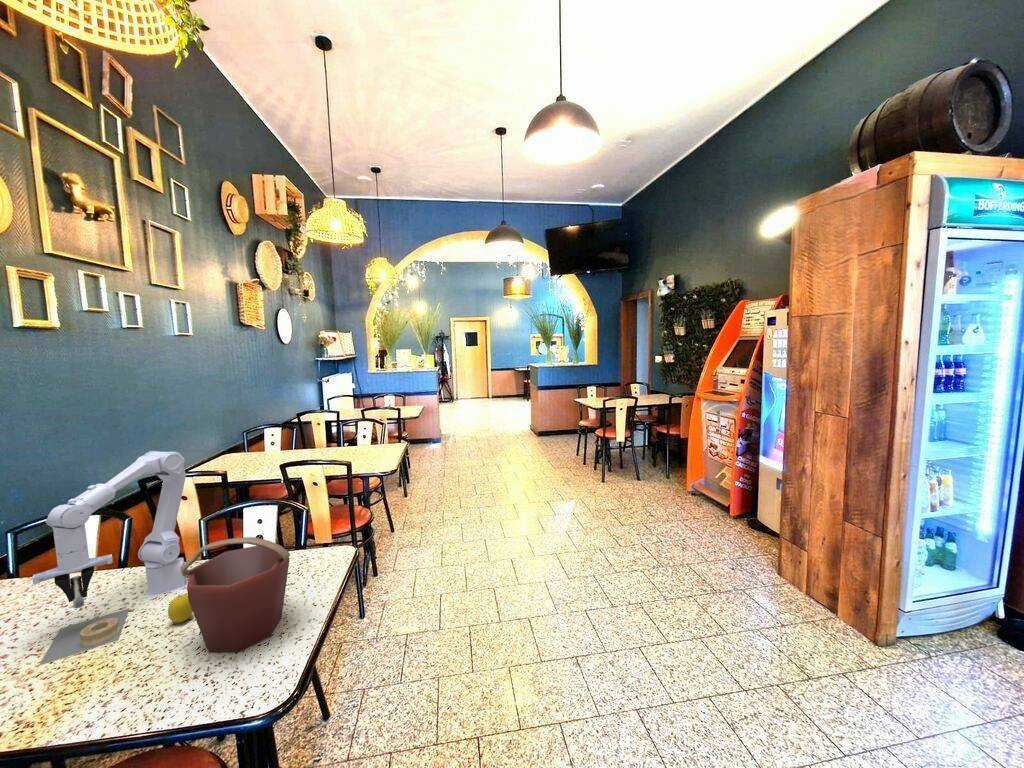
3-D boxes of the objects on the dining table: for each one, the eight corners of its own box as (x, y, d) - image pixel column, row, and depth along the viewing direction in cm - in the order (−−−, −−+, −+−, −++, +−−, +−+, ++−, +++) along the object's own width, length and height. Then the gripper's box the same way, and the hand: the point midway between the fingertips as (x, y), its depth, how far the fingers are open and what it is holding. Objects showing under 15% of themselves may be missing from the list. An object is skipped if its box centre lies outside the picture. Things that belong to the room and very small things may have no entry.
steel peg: (84, 602, 112) (81, 574, 111) (84, 606, 110) (80, 577, 110) (74, 606, 110) (70, 577, 110) (73, 609, 109) (69, 580, 108)
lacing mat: (129, 610, 120) (129, 608, 120) (118, 642, 107) (118, 640, 107) (60, 630, 112) (60, 628, 112) (39, 667, 99) (38, 665, 99)
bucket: (164, 661, 99) (154, 561, 97) (231, 604, 121) (223, 522, 119) (263, 661, 98) (254, 560, 96) (311, 604, 120) (305, 521, 118)
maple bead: (121, 624, 113) (120, 614, 113) (116, 638, 107) (115, 627, 107) (85, 635, 109) (84, 625, 109) (78, 650, 103) (76, 639, 103)
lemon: (199, 619, 115) (196, 591, 115) (176, 631, 110) (173, 603, 110) (187, 614, 118) (185, 587, 117) (165, 626, 112) (162, 598, 112)
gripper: (109, 535, 117) (115, 581, 118) (32, 554, 107) (38, 604, 108) (110, 543, 112) (115, 590, 113) (28, 563, 102) (35, 615, 103)
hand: (78, 598), depth 110 cm, fingers closed on steel peg, 2 cm apart
